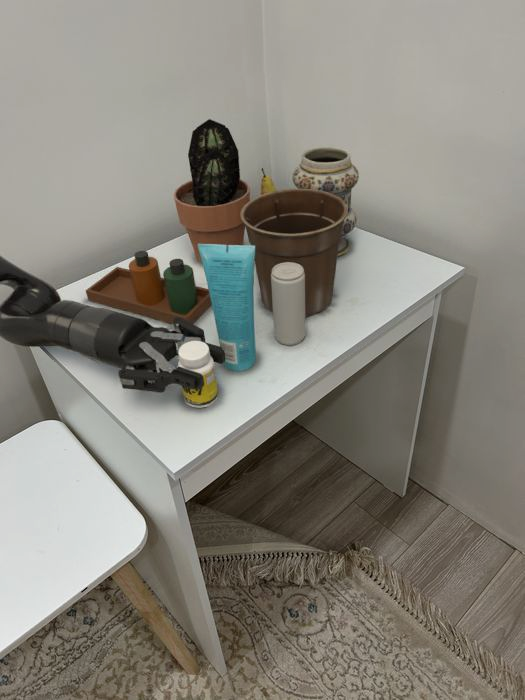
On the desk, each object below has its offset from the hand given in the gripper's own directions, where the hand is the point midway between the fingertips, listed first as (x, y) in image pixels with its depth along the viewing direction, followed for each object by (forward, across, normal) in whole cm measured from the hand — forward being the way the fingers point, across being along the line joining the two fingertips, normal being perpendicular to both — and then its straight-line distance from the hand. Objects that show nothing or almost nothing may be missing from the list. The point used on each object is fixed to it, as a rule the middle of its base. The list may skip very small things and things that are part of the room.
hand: (212, 369), depth 70 cm
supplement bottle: (-3, 0, -6) cm, 7 cm away
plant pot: (-1, -27, -6) cm, 28 cm away
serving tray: (-24, -17, -6) cm, 30 cm away
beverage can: (+3, -17, -6) cm, 18 cm away
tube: (-2, -9, -6) cm, 11 cm away
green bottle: (-17, -17, -5) cm, 24 cm away
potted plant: (-21, -35, -6) cm, 41 cm away
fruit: (-19, -53, -6) cm, 56 cm away
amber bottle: (-24, -17, -5) cm, 30 cm away
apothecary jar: (-3, -46, -6) cm, 46 cm away
